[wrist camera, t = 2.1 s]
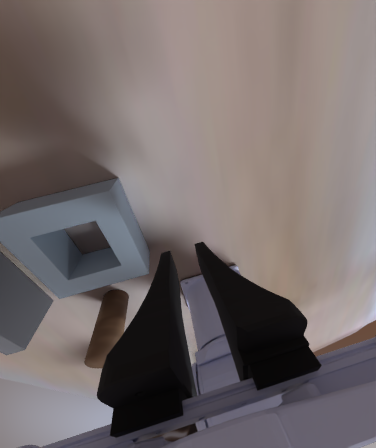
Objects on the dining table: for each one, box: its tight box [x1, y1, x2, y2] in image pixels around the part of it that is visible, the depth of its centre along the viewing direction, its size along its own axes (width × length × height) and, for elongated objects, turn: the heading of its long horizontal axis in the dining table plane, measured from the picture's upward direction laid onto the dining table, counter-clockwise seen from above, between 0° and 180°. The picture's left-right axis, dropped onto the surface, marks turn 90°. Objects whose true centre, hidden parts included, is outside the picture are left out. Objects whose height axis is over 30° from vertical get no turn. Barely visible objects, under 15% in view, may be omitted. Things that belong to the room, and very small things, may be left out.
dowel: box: [84, 290, 129, 368], centre depth 22 cm, size 4×4×8 cm
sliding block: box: [0, 178, 150, 299], centre depth 17 cm, size 10×10×4 cm
